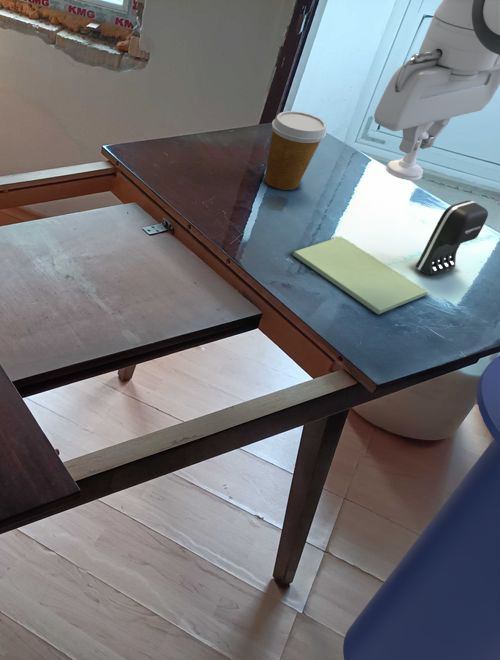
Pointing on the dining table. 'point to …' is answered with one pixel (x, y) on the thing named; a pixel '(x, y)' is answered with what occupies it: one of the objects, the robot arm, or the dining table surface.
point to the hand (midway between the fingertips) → (414, 148)
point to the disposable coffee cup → (292, 148)
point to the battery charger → (451, 236)
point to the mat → (360, 274)
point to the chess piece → (409, 161)
